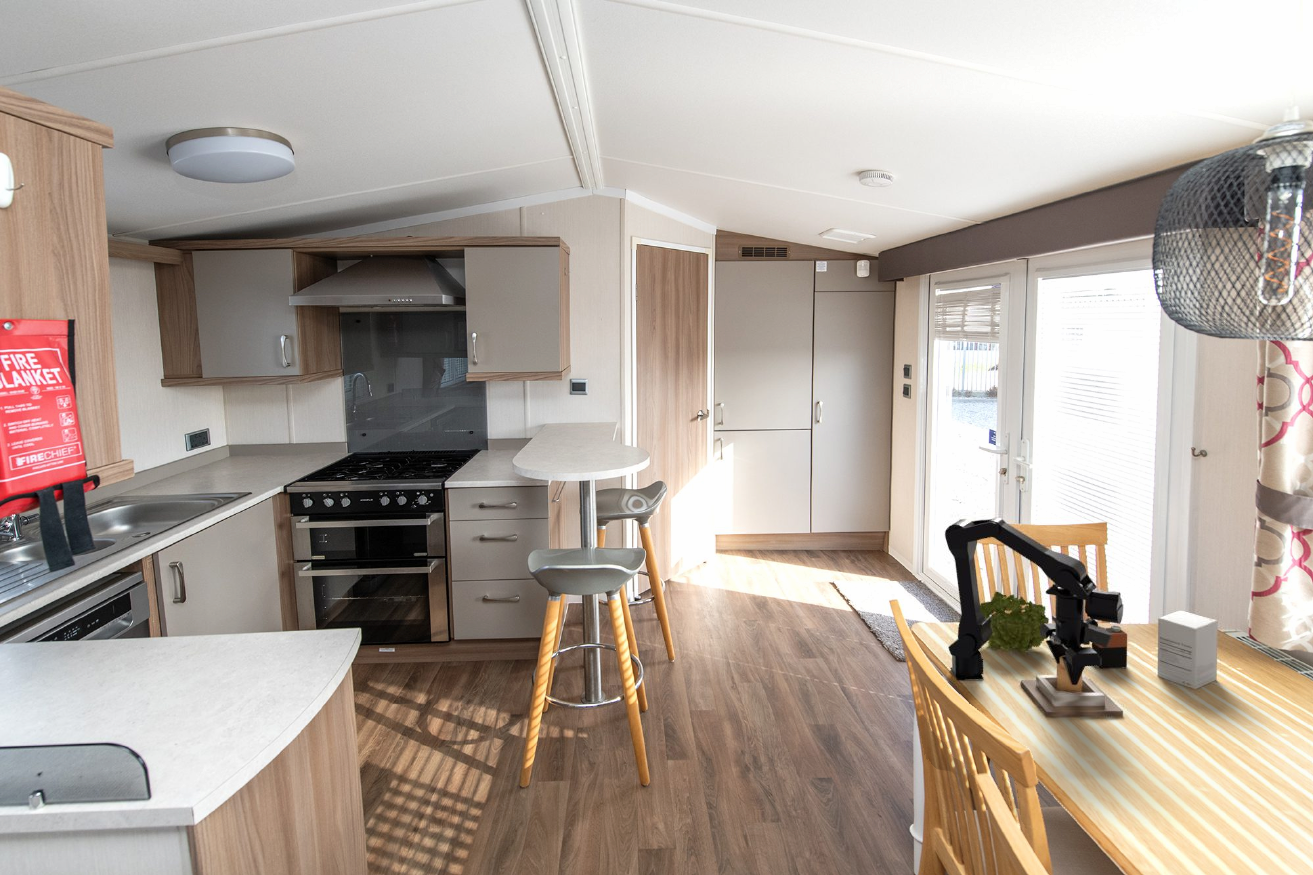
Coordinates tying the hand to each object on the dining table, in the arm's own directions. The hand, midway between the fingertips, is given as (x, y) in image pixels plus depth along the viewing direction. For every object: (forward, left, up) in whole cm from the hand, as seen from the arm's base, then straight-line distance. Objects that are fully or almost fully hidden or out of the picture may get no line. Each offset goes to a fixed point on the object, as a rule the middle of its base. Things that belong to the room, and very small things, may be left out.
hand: (1069, 679), depth 178 cm
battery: (+17, +18, -5) cm, 25 cm away
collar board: (0, 0, -5) cm, 5 cm away
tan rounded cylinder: (0, 0, -2) cm, 2 cm away
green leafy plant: (-3, +29, -5) cm, 30 cm away
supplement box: (+31, +10, -5) cm, 33 cm away
